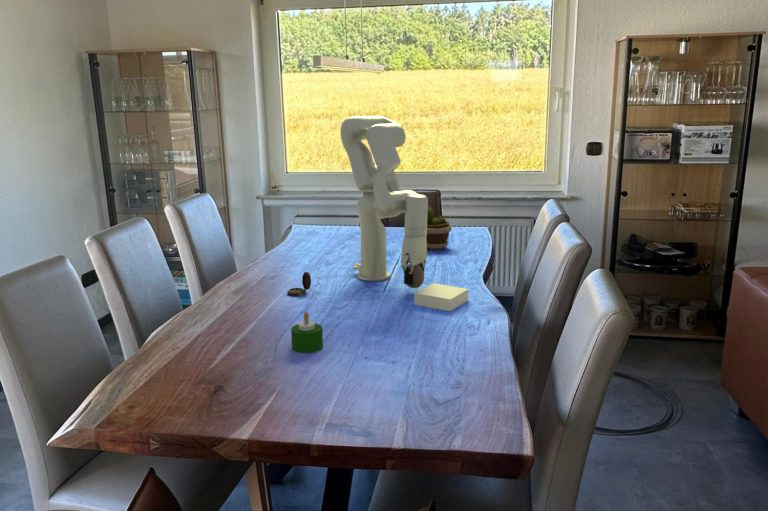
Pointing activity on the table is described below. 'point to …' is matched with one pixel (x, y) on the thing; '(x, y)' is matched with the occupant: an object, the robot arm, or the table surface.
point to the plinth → (441, 297)
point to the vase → (417, 276)
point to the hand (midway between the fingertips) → (414, 281)
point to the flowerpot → (437, 231)
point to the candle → (307, 336)
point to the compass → (306, 284)
